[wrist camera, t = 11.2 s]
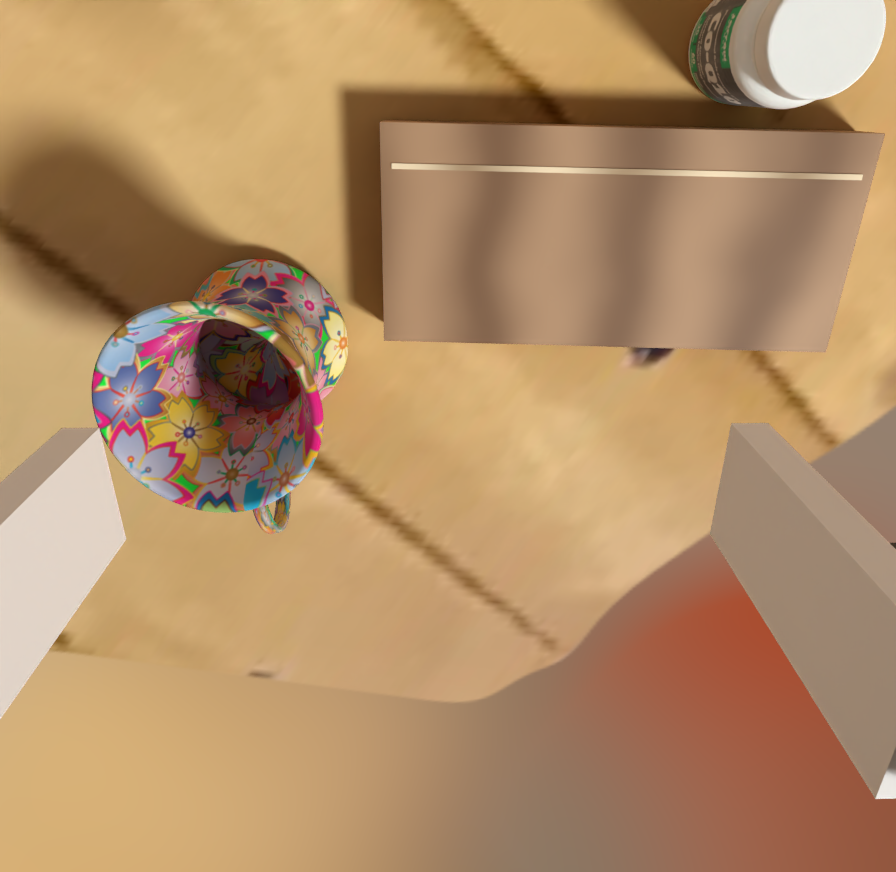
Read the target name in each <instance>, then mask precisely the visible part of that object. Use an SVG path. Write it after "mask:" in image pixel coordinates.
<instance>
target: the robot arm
mask: <svg viewBox="0 0 896 872" xmlns="http://www.w3.org/2000/svg"><path fill="white" fill-rule="evenodd" d="M710 535H711V536H712V538H713V540H714V541H715V543H716V544H717V546H718V548H719V549H720V551H721V552H722V554H723V555H724V557H725V558H726V560H727V562H728V564H729V565H730V567H731V568H732V570H733V572H734V573H735V575H736V576H737V578H738V580H739V581H740V583H741V584H742V586H743V587H744V589H745V591H746V592H747V594H748V596H749V597H750V599H751V600H752V602H753V604H754V605H755V607H756V608H757V610H758V612H759V613H760V615H761V616H762V618H763V620H764V621H765V623H766V624H767V626H768V628H769V629H770V631H771V632H772V634H773V635H774V637H775V639H776V640H777V642H778V643H779V645H780V647H781V648H782V650H783V652H784V653H785V655H786V656H787V658H788V660H789V661H790V663H791V664H792V666H793V668H794V669H795V671H796V672H797V674H798V676H799V677H800V679H801V680H802V682H803V684H804V685H805V687H806V688H807V690H808V692H809V693H810V695H811V696H812V698H813V700H814V701H815V703H816V704H817V706H818V708H819V709H820V711H821V712H822V714H823V716H824V717H825V719H826V720H827V722H828V724H829V725H830V727H831V728H832V730H833V732H834V733H835V735H836V736H837V738H838V740H839V741H840V743H841V744H842V746H843V748H844V749H845V751H846V752H847V754H848V756H849V757H850V759H851V760H852V762H853V763H854V765H855V767H856V768H857V770H858V772H859V773H860V775H861V776H862V778H863V780H864V781H865V783H866V784H867V786H868V788H869V789H870V791H871V792H872V794H873V796H874V797H875V799H884V798H885V799H887V798H888V799H890V798H896V543H889V542H888V541H887V540H886V539H885V538H884V537H883V536H882V535H881V534H880V533H879V532H878V531H877V530H876V529H875V528H874V527H873V526H872V525H871V524H870V523H869V522H868V521H867V520H866V519H865V518H863V517H862V515H861V514H859V513H858V512H857V511H856V510H855V509H854V508H853V507H852V506H851V505H850V504H849V503H848V502H847V501H846V500H845V499H844V498H843V497H842V496H841V495H840V494H839V493H838V492H837V491H836V490H835V489H834V488H833V487H832V486H831V485H830V484H829V483H828V482H827V481H826V480H825V479H824V478H823V477H822V476H821V475H820V474H819V473H818V472H817V471H816V470H815V469H814V468H813V467H812V466H811V465H810V464H809V463H808V462H807V461H806V460H805V459H804V458H803V457H802V456H801V455H800V454H799V453H798V452H797V451H796V450H795V449H794V448H793V447H792V446H791V445H790V444H789V443H788V442H787V441H786V440H784V439H783V438H782V437H781V436H780V435H779V434H778V433H777V432H776V431H775V430H774V429H773V428H772V427H771V426H770V425H769V424H768V423H731V428H730V433H729V438H728V443H727V448H726V454H725V459H724V464H723V469H722V474H721V479H720V485H719V490H718V495H717V500H716V505H715V510H714V516H713V521H712V526H711V531H710ZM125 540H126V537H125V532H124V528H123V524H122V520H121V516H120V512H119V508H118V503H117V499H116V495H115V491H114V487H113V483H112V478H111V474H110V470H109V466H108V462H107V458H106V454H105V449H104V445H103V441H102V437H101V433H100V429H99V428H61V429H60V430H59V431H58V432H57V433H56V434H55V435H54V436H52V437H51V438H50V439H49V440H48V441H47V442H46V443H45V444H43V445H42V446H41V447H40V448H39V449H38V450H37V451H36V452H34V453H33V454H32V455H31V456H30V457H29V458H28V459H26V460H25V461H24V462H23V463H22V464H21V465H20V466H19V467H17V468H16V469H15V470H14V471H13V472H12V473H11V474H10V475H8V476H7V477H6V478H5V479H4V480H3V481H2V482H1V483H0V719H1V717H2V716H3V715H4V713H5V712H6V710H7V709H8V707H9V706H10V704H11V703H12V702H13V700H14V699H15V697H16V696H17V695H18V693H19V692H20V690H21V689H22V687H23V686H24V685H25V683H26V682H27V680H28V679H29V677H30V676H31V675H32V673H33V672H34V670H35V669H36V667H37V666H38V665H39V663H40V662H41V660H42V659H43V657H44V656H45V655H46V653H47V652H48V650H49V649H50V647H51V646H52V645H53V643H54V642H55V640H56V639H57V637H58V636H59V635H60V633H61V632H62V630H63V629H64V627H65V626H66V625H67V623H68V622H69V620H70V619H71V617H72V616H73V615H74V613H75V612H76V610H77V609H78V607H79V606H80V605H81V603H82V602H83V600H84V599H85V597H86V596H87V595H88V593H89V592H90V590H91V589H92V587H93V586H94V585H95V583H96V582H97V580H98V579H99V577H100V576H101V575H102V573H103V572H104V570H105V569H106V567H107V566H108V565H109V563H110V562H111V560H112V559H113V557H114V556H115V555H116V553H117V552H118V550H119V549H120V547H121V546H122V545H123V543H124V542H125Z"/></svg>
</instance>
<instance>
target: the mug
mask: <svg viewBox="0 0 896 872" xmlns="http://www.w3.org/2000/svg"><path fill="white" fill-rule="evenodd" d="M347 355H348V337H347V331H346V327H345V323H344V320H343V317H342V315H341V312H340V310H339V308H338V306H337V305H336V303H335V301H334V300H333V298H332V297H331V296H330V294H329V293H328V292H327V291H326V290H325V288H324V287H323V286H322V285H320V284H319V283H318V282H317V281H316V280H315V279H314V278H312V277H311V276H309V275H308V274H306V273H305V272H303V271H301V270H300V269H298V268H295V267H293V266H291V265H288V264H285V263H282V262H278V261H274V260H266V259H249V260H242V261H238V262H234V263H231V264H229V265H226V266H224V267H222V268H220V269H218V270H217V271H216V272H214V273H213V274H211V275H210V276H209V277H208V278H207V279H206V280H205V281H204V282H203V283H202V284H201V285H200V287H199V288H198V290H197V291H196V293H195V295H194V296H193V299H192V301H180V302H172V303H166V304H162V305H158V306H155V307H152V308H149V309H147V310H144V311H142V312H141V313H139V314H137V315H135V316H133V317H132V318H130V319H129V320H128V321H126V322H125V323H123V324H122V325H121V326H120V327H119V328H118V329H117V330H116V331H115V332H114V333H113V334H112V335H111V336H110V338H109V339H108V341H107V342H106V343H105V345H104V347H103V348H102V350H101V352H100V354H99V357H98V359H97V362H96V365H95V369H94V373H93V380H92V403H93V409H94V414H95V418H96V421H97V424H98V427H99V429H100V432H101V434H102V437H103V438H104V440H105V442H106V444H107V446H108V447H109V449H110V450H111V452H112V453H113V455H114V456H115V458H116V459H117V460H118V461H119V463H120V464H121V465H122V466H123V467H124V468H125V469H126V470H127V471H128V472H129V473H130V474H131V475H132V476H133V477H134V478H135V479H136V480H138V481H139V482H140V483H142V484H143V485H144V486H146V487H147V488H149V489H150V490H152V491H153V492H155V493H156V494H158V495H160V496H162V497H164V498H166V499H168V500H170V501H172V502H175V503H177V504H180V505H183V506H186V507H189V508H193V509H197V510H202V511H209V512H222V513H228V512H241V511H247V510H252V509H253V513H254V516H255V518H256V520H257V522H258V524H259V526H260V527H261V528H262V529H263V530H264V531H265V532H266V533H269V534H275V533H279V532H281V531H283V530H284V529H285V527H286V525H287V522H288V519H289V513H290V500H291V490H293V489H294V488H295V487H296V486H297V485H298V484H299V483H300V482H301V481H302V480H303V479H304V477H305V476H306V475H307V473H308V472H309V471H310V469H311V467H312V465H313V464H314V462H315V459H316V457H317V455H318V452H319V449H320V445H321V442H322V436H323V424H324V421H323V409H322V403H321V400H322V399H323V398H324V397H326V396H327V395H328V394H329V393H330V392H331V390H332V389H333V388H334V387H335V385H336V384H337V383H338V381H339V379H340V377H341V376H342V373H343V371H344V368H345V365H346V361H347ZM274 501H276V508H275V516H274V519H273V517H272V515H271V513H270V510H269V507H268V504H270V503H272V502H274Z"/></svg>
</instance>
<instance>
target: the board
mask: <svg viewBox="0 0 896 872" xmlns="http://www.w3.org/2000/svg"><path fill="white" fill-rule="evenodd" d="M884 136H885V134H883V133H873V132H862V131H839V130H796V129H754V128H711V127H668V126H625V125H583V124H540V123H497V122H454V121H412V120H384V121H381V122H380V163H381V212H382V261H383V310H384V341H421V342H458V343H496V344H533V345H571V346H608V347H646V348H683V349H721V350H758V351H796V352H826V349H827V346H828V342H829V338H830V335H831V331H832V327H833V324H834V320H835V316H836V312H837V309H838V305H839V301H840V298H841V294H842V290H843V287H844V283H845V279H846V276H847V272H848V268H849V265H850V261H851V257H852V254H853V250H854V246H855V242H856V239H857V235H858V231H859V228H860V224H861V220H862V217H863V213H864V209H865V206H866V202H867V198H868V195H869V191H870V187H871V183H872V180H873V176H874V172H875V169H876V165H877V161H878V158H879V154H880V150H881V147H882V143H883V139H884Z"/></svg>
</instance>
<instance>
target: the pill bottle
mask: <svg viewBox="0 0 896 872" xmlns="http://www.w3.org/2000/svg"><path fill="white" fill-rule="evenodd" d="M885 24H886V11H885V5H884V1H883V0H714V1H712V2H711V3H710V4H709V5H708V7H707V8H706V9H705V10H704V11H703V13H702V14H701V16H700V17H699V19H698V21H697V23H696V25H695V27H694V29H693V32H692V35H691V38H690V43H689V53H688V57H689V67H690V71H691V75H692V77H693V79H694V81H695V83H696V85H697V86H698V88H699V89H700V90H701V91H702V92H703V93H704V94H705V95H706V96H708V97H709V98H711V99H712V100H714V101H717V102H719V103H724V104H729V105H738V106H753V107H763V108H772V109H789V108H795V107H799V106H803V105H806V104H808V103H810V102H813V101H815V100H818V99H824V98H827V97H830V96H833V95H835V94H838V93H840V92H842V91H843V90H845V89H846V88H848V87H849V86H851V85H852V84H853V83H854V82H855V81H857V80H858V79H859V78H860V77H861V76H862V75H863V74H864V72H865V71H866V70H867V69H868V67H869V66H870V65H871V63H872V62H873V60H874V58H875V57H876V55H877V52H878V51H879V48H880V46H881V43H882V40H883V36H884V31H885Z"/></svg>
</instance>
